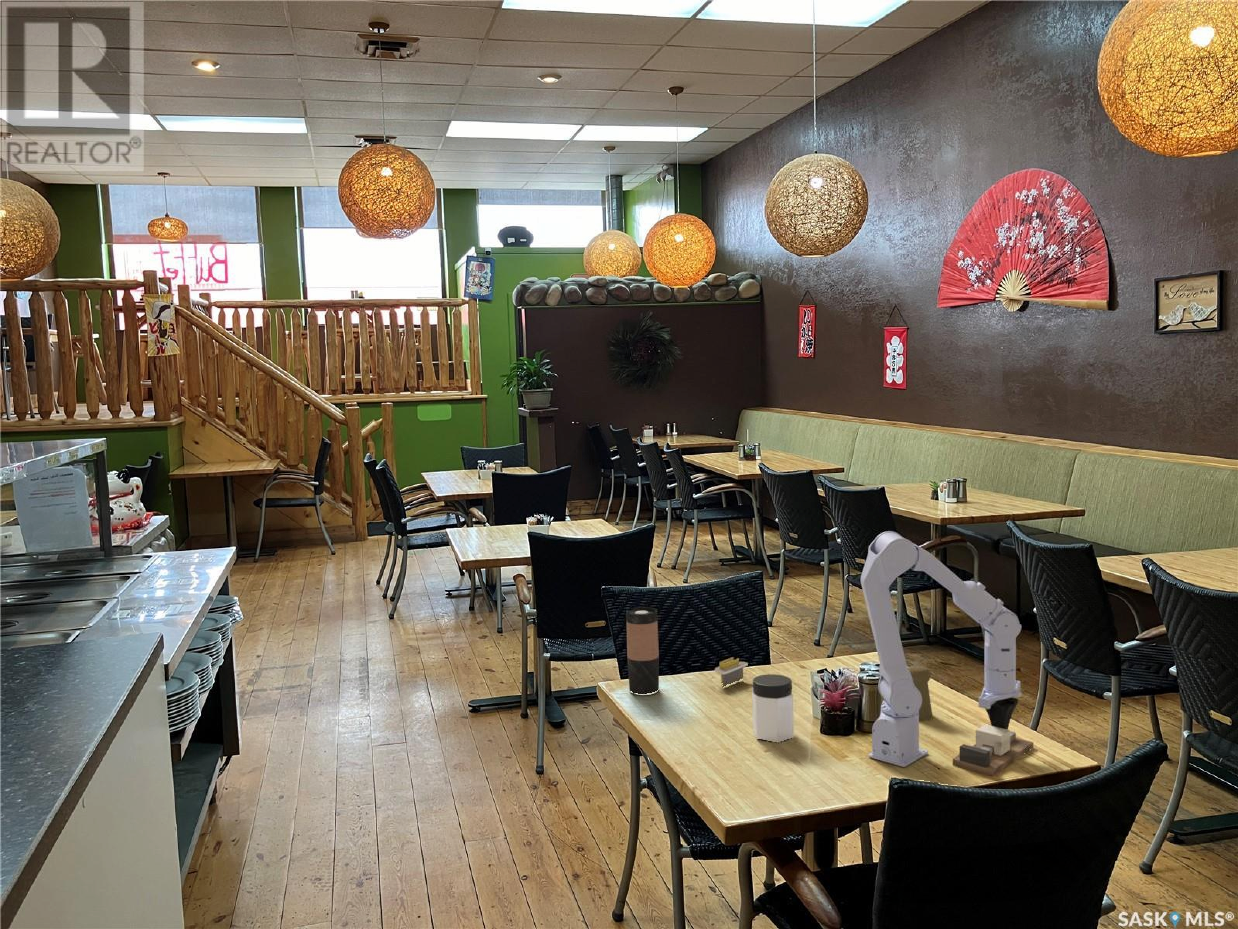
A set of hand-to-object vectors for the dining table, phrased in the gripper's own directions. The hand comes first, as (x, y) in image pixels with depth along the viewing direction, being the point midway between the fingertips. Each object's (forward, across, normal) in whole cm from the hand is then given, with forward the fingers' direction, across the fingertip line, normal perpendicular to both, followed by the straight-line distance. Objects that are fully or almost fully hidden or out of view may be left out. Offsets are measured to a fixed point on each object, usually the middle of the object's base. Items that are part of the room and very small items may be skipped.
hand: (999, 734), depth 188 cm
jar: (+4, -22, +39) cm, 45 cm away
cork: (+4, +8, +22) cm, 24 cm away
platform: (+4, -1, +67) cm, 67 cm away
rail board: (+4, -3, 0) cm, 5 cm away
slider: (+2, -3, 0) cm, 4 cm away
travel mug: (+4, -19, +80) cm, 82 cm away
